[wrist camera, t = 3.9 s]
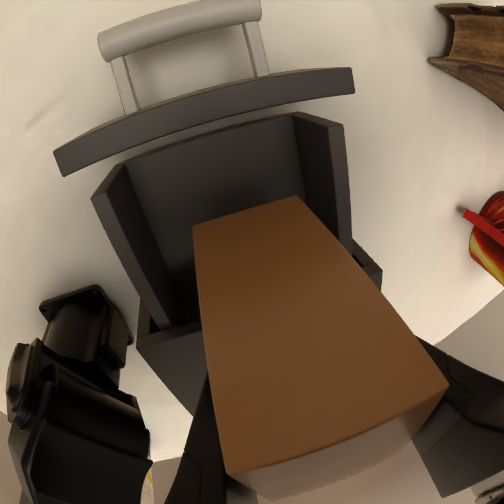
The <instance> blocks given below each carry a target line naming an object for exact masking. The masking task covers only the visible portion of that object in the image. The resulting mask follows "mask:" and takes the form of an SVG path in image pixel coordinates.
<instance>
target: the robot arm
mask: <svg viewBox="0 0 504 504" xmlns="http://www.w3.org/2000/svg"><path fill="white" fill-rule="evenodd" d="M94 291H96V292H97V293H95V292H94ZM44 308H45V309H44ZM39 310H40V312H41V313H42V315H43V316H44V317H45V319H46V320H47V321H48V325H47V327H46V330H45V333H44V336H43V339H42V341H41V340H40V339H38V338H36V339H35V340H34V341H33V342H32V343H31V344H30V345H29V344H28V343H27V344H22V343H18V344H17V345H16V347H15V349H14V352H13V355H12V358H11V360H10V364H9V367H8V373H7V383H6V399H7V413H8V421H9V422H10V423H12V426H11V430H10V434H9V438H8V445H9V449H10V452H11V456H12V459H13V462H14V466H15V469H16V472H17V475H18V478H19V480H20V483H21V485H22V493H21V499H20V504H141V496H142V488H143V484H144V481H145V478H146V475H147V473H148V471H149V470H150V468H151V466H152V464H153V461H152V460H150V459H148V456H149V452H150V432H149V430H148V429H146V427H145V424H144V421H143V418H142V415H141V412H140V409H139V406H138V402H137V399H136V397H135V396H133V395H131V394H126V393H124V392H122V391H120V390H119V389H118V388H119V379H120V369H121V368H124V366H125V362H126V351H127V346H128V345H131V344H133V341H134V338H133V336H132V334H131V333H130V331H129V328H128V326H127V325H126V323H125V322H124V320H123V319H122V317H121V316H120V314H119V313H118V311H117V310H116V308H115V307H113V306H112V305H111V303H110V302H109V300H108V299H107V297H106V295H105V294H104V292H103V291H102V289H101V288H100V287H99V286H97V285H93V286H90V287H87V288H84V289H81V290H78V291H75V292H72V293H69V294H66V295H63V296H60V297H57V298H54V299H51V300H48V301H45V302H42V303H41V304H40V306H39ZM415 337H416V338H417V339H418V341H419V342H420V343H421V345H422V346H423V348H424V349H425V350H426V352H427V353H428V354H429V356H430V357H431V359H432V360H433V361H434V363H435V364H436V366H437V367H438V369H439V370H440V371H441V373H442V374H443V376H444V377H445V379H446V380H447V382H448V383H449V387H448V389H447V390H446V392H445V394H444V395H443V397H442V398H441V400H440V401H439V403H438V404H437V406H436V407H435V409H434V410H433V411H432V413H431V414H430V416H429V417H428V418H427V420H426V421H425V423H424V424H423V425H422V427H421V428H420V429H419V431H418V432H417V433H416V435H415V436H414V437H413V438H412V441H413V443H414V445H415V447H416V449H417V451H418V453H419V455H420V456H421V459H422V460H423V462H424V464H425V466H426V468H427V470H428V472H429V474H430V476H431V477H432V480H433V482H434V484H435V486H436V488H437V490H438V491H439V493H440V495H441V497H442V498H444V497H447V496H449V495H452V494H455V493H457V492H459V491H462V490H464V489H466V488H468V487H471V489H472V491H473V493H474V495H475V497H476V500H475V502H476V504H504V382H503V381H501V380H499V379H496V378H494V377H492V376H489V375H487V374H485V373H483V372H480V371H478V370H476V369H474V368H472V367H470V366H468V365H466V364H464V363H462V362H460V361H458V360H457V359H455V358H453V357H452V356H450V355H448V356H447V354H446V353H445V352H443V351H441V350H439V349H438V348H436V347H434V346H433V345H431V344H429V343H428V342H426V341H424V340H422V339H421V338H419V337H417V336H415ZM128 339H129V340H128ZM184 451H185V452H183V455H182V458H181V462H180V465H179V468H178V471H177V474H176V477H175V479H174V482H173V485H172V487H171V489H170V492H169V494H168V496H167V498H166V501H165V503H164V504H258V501H257V495H256V492H255V491H253V490H251V489H250V488H248V487H246V486H245V485H243V484H241V483H240V482H238V481H237V480H235V479H233V478H232V477H230V476H229V475H227V473H226V470H225V465H224V460H223V455H222V450H221V445H220V440H219V434H218V429H217V423H216V417H215V412H214V406H213V400H212V393H211V387H210V381H209V374H208V370H207V373H206V377H205V380H204V383H203V387H202V390H201V393H200V397H199V400H198V404H197V407H196V410H195V414H194V417H193V421H192V424H191V428H190V431H189V435H188V438H187V441H186V445H185V448H184Z"/></svg>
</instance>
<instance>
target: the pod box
mask: <svg viewBox="0 0 504 504" xmlns="http://www.w3.org/2000/svg"><path fill="white" fill-rule="evenodd" d="M192 234H193V246H194V257H195V268H196V278H197V288H198V297H199V306H200V314H201V323H202V331H203V338H204V346H205V353H206V360H207V367H208V374H209V381H210V387H211V393H212V400H213V406H214V412H215V417H216V423H217V429H218V434H219V440H220V445H221V450H222V455H223V460H224V465H225V470H226V473H227V475H229V476H230V477H232V478H233V479H235V480H237V481H238V482H240V483H241V484H243V485H245V486H246V487H248V488H250V489H251V490H253V491H255V492H256V493H258V494H260V495H261V496H263V497H265V498H267V499H269V500H270V501H275V500H279V499H283V498H287V497H291V496H294V495H297V494H301V493H304V492H307V491H311V490H314V489H317V488H320V487H323V486H326V485H328V484H331V483H334V482H337V481H339V480H342V479H345V478H347V477H349V476H352V475H355V474H357V473H359V472H362V471H364V470H366V469H369V468H371V467H373V466H375V465H377V464H379V463H382V462H384V461H386V460H388V459H390V458H392V457H394V456H396V455H398V454H400V453H401V452H402V451H403V449H404V448H405V447H406V446H407V444H408V443H409V442H410V441H411V440H412V438H413V437H414V436H415V435H416V433H417V432H418V431H419V429H420V428H421V427H422V425H423V424H424V423H425V421H426V420H427V418H428V417H429V416H430V414H431V413H432V411H433V410H434V409H435V407H436V406H437V404H438V403H439V401H440V400H441V398H442V397H443V395H444V394H445V392H446V390H447V389H448V387H449V383H448V382H447V380H446V379H445V377H444V376H443V374H442V373H441V371H440V370H439V369H438V367H437V366H436V364H435V363H434V361H433V360H432V359H431V357H430V356H429V354H428V353H427V352H426V350H425V349H424V348H423V346H422V345H421V343H420V342H419V341H418V339H417V338H416V337H415V335H414V334H413V333H412V331H411V330H410V329H409V327H408V326H407V325H406V323H405V322H404V321H403V319H402V318H401V317H400V316H399V314H398V313H397V312H396V310H395V309H394V308H393V307H392V305H391V304H390V303H389V301H388V300H387V299H386V298H385V296H384V295H383V294H382V293H381V291H380V290H379V289H378V288H377V286H376V285H375V284H374V283H373V282H372V280H371V279H370V278H369V277H368V275H367V274H366V273H365V272H364V271H363V269H362V268H361V267H360V266H359V265H358V263H357V262H356V261H355V260H354V259H353V258H352V256H351V255H350V254H349V253H348V252H347V251H346V249H345V248H344V247H343V246H342V245H341V244H340V242H339V241H338V240H337V239H336V238H335V237H334V236H333V235H332V233H331V232H330V231H329V230H328V229H327V228H326V227H325V226H324V224H323V223H322V222H321V221H320V220H319V219H318V218H317V217H316V216H315V214H314V213H313V212H312V211H311V210H310V209H309V208H308V207H307V206H306V205H305V204H304V202H303V201H302V200H301V199H300V198H299V197H298V196H297V195H295V196H292V197H288V198H284V199H281V200H277V201H274V202H270V203H267V204H263V205H260V206H256V207H253V208H249V209H246V210H243V211H239V212H236V213H233V214H229V215H226V216H223V217H219V218H216V219H213V220H210V221H206V222H203V223H200V224H197V225H194V226H192Z"/></svg>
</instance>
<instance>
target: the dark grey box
mask: <svg viewBox="0 0 504 504" xmlns="http://www.w3.org/2000/svg"><path fill="white" fill-rule="evenodd" d="M352 258H353V259H354V260H355V261H356V262H357V263H358V265H359V266H360V267H361V268H362V269H363V271H364V272H365V273H366V274H367V275H368V277H369V278H370V279H371V280H372V282H373V283H374V284H375V285H376V286H377V288H378V289H379V290H380V291H381V284H382V272H383V270H382V269H381V268H380V267H379V266H378V265H377V263H375V262H374V261H373V259H372V258H371V257H370V256H369V255H368V254H367V253H366V252H365V251H364V250H363V249H362V248H361V247H360V246H359V245H358V244H357V243H356V241H355V240H354V239H353V238H352ZM136 349H137V350H138V352H139V353H140V354H141V356H142V357H143V358H144V359H145V361H146V362H147V363H148V364H149V366H150V367H151V368H152V370H153V371H154V372H155V373H156V374H157V376H158V377H159V378H160V379H161V381H162V382H163V383H164V384H165V385H166V386H167V388H168V389H169V390H170V391H171V392H172V393H173V395H174V396H175V397H176V398H177V399H178V400H179V401H180V403H181V404H182V405H183V406H184V407H185V408H186V409H187V410H188V411H189V412H190V414H191V415H192V416H193V417H194V414H195V410H196V407H197V404H198V400H199V397H200V393H201V390H202V387H203V383H204V380H205V377H206V373H207V370H208V367H207V360H206V353H205V346H204V338H203V331H202V323H201V320H200V321H196V322H193V323H189V324H186V325H182V326H179V327H175V328H171V329H168V330H164V331H160V329H159V328H158V326H157V324H156V323H155V321H154V319H153V318H152V316H151V314H150V313H149V311H148V309H147V308H146V306H145V304H144V303H143V301H142V299H140V308H139V318H138V329H137V342H136Z"/></svg>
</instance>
